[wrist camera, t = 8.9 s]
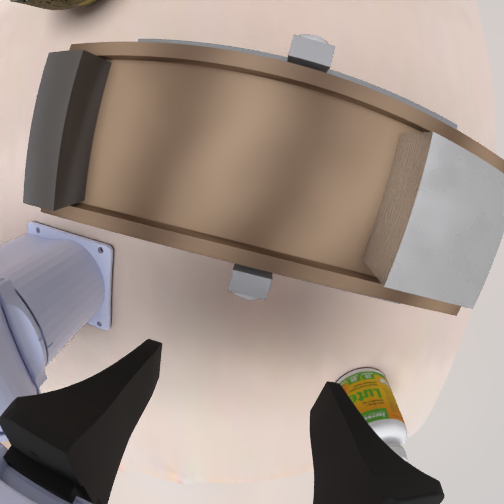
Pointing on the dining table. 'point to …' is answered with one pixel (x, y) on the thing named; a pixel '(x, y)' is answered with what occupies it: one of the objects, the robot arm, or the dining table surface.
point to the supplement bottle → (377, 406)
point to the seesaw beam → (223, 157)
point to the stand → (312, 56)
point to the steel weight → (437, 221)
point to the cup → (56, 3)
